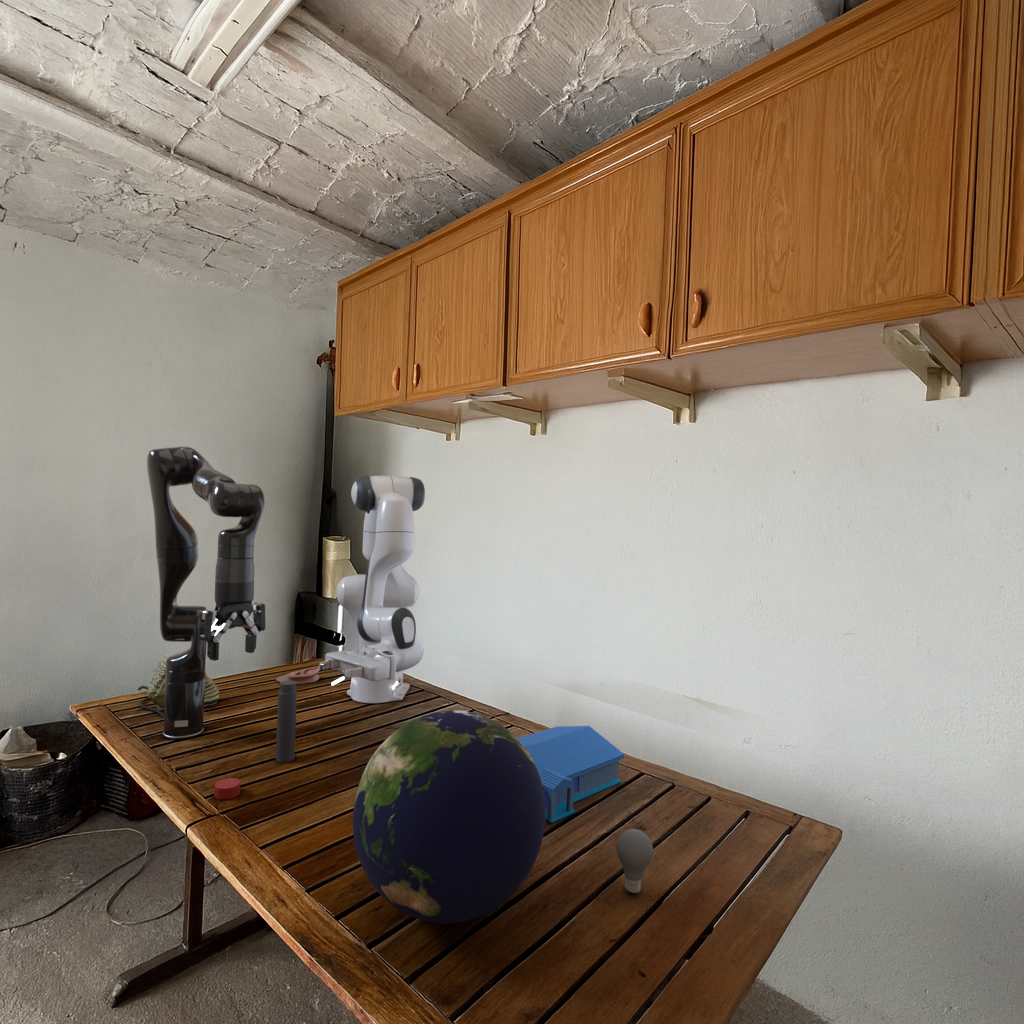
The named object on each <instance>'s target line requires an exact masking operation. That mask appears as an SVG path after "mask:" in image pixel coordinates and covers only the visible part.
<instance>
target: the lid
mask: <svg viewBox="0 0 1024 1024" xmlns="http://www.w3.org/2000/svg"><path fill="white" fill-rule="evenodd" d="M240 794H241V780H240V779H239V778H236V777H229V778H228V777H227V778H223V779H222V778H221V779H219V780H218V781H216V782H215V783H214V793H213V796H214V798H215V799H217V800H230V799H231V800H232V799H233V798H236V797H238V796H239V795H240Z"/></svg>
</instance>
